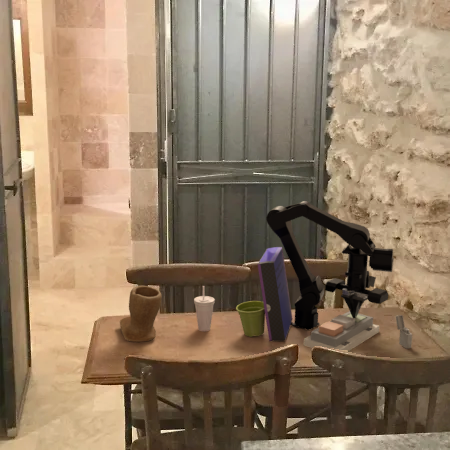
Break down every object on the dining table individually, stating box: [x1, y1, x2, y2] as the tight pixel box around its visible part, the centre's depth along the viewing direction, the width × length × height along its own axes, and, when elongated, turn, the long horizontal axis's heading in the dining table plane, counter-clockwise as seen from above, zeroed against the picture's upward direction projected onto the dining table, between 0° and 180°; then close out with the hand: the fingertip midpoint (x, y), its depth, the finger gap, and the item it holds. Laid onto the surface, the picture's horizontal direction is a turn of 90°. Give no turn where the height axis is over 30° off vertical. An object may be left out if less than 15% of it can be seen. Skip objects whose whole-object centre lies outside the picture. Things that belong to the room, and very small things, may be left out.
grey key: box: [331, 314, 355, 330], centre depth 197 cm, size 5×5×2 cm
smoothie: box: [193, 285, 216, 332], centre depth 203 cm, size 6×6×14 cm
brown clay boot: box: [119, 285, 163, 343], centre depth 198 cm, size 15×12×15 cm
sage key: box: [347, 314, 366, 323], centre depth 203 cm, size 5×5×2 cm
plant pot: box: [235, 300, 266, 338], centre depth 200 cm, size 9×9×9 cm
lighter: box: [395, 314, 413, 350], centre depth 194 cm, size 7×2×8 cm, turn 15°
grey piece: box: [303, 310, 380, 352], centre depth 198 cm, size 12×24×4 cm, turn 140°
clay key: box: [318, 320, 343, 337], centre depth 192 cm, size 5×5×2 cm
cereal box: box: [257, 246, 293, 342], centre depth 201 cm, size 17×5×24 cm, turn 167°
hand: (354, 317), depth 202 cm, fingers closed, pressing on sage key
